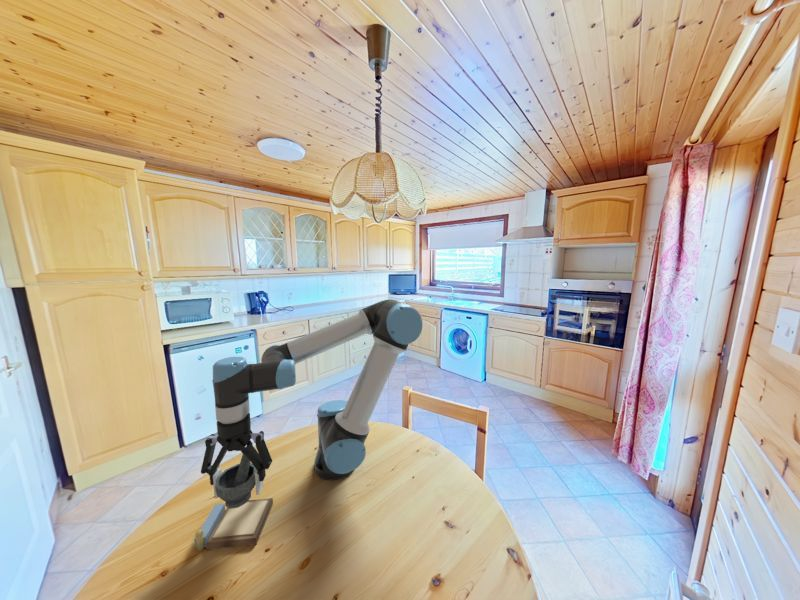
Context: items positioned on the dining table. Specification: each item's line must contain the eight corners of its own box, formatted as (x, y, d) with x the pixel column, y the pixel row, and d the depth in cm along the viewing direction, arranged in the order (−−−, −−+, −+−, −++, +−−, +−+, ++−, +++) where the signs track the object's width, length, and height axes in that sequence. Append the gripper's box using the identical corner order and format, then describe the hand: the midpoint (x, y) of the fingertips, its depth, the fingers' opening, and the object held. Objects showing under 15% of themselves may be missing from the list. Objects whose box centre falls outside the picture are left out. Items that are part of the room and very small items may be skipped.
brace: (204, 550, 68) (203, 534, 68) (193, 551, 68) (192, 536, 67) (225, 511, 79) (223, 498, 78) (215, 513, 79) (214, 499, 78)
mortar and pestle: (241, 517, 68) (237, 474, 66) (208, 512, 69) (203, 470, 68) (268, 482, 79) (266, 444, 77) (240, 478, 80) (236, 441, 79)
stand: (273, 504, 82) (272, 497, 81) (256, 544, 70) (255, 536, 70) (231, 507, 81) (230, 500, 80) (207, 549, 69) (206, 541, 68)
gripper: (282, 406, 76) (286, 478, 79) (196, 410, 73) (204, 484, 76) (272, 422, 68) (277, 500, 71) (177, 427, 66) (186, 508, 69)
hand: (239, 492), depth 74 cm, fingers closed on mortar and pestle, 10 cm apart
